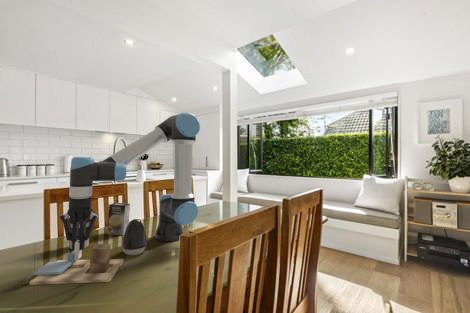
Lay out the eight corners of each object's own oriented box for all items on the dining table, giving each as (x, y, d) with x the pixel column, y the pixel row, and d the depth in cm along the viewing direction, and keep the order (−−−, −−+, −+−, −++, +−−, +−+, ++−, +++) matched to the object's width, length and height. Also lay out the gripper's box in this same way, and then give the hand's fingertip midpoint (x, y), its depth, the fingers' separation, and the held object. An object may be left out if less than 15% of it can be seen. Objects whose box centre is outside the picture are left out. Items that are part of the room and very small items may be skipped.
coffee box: (106, 234, 130) (108, 204, 130) (113, 231, 136) (114, 202, 137) (123, 235, 130) (124, 205, 130) (129, 231, 136) (130, 203, 136)
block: (109, 267, 92) (110, 243, 92) (104, 274, 87) (105, 248, 87) (95, 268, 91) (96, 244, 91) (89, 274, 86) (90, 249, 86)
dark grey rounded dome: (121, 260, 100) (123, 223, 100) (120, 250, 109) (122, 217, 109) (147, 256, 105) (149, 221, 105) (144, 247, 114) (146, 215, 114)
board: (123, 262, 98) (123, 258, 98) (109, 283, 82) (109, 278, 82) (57, 264, 94) (57, 260, 94) (29, 286, 78) (29, 281, 78)
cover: (77, 259, 95) (77, 250, 95) (60, 274, 83) (60, 264, 83) (54, 259, 94) (55, 251, 94) (34, 275, 82) (34, 265, 82)
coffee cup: (79, 252, 106) (81, 217, 106) (60, 249, 108) (62, 215, 108) (96, 244, 115) (98, 213, 115) (78, 242, 117) (80, 211, 117)
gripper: (102, 195, 98) (99, 253, 98) (67, 195, 96) (64, 254, 96) (95, 198, 91) (92, 261, 91) (56, 198, 89) (53, 262, 89)
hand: (77, 258), depth 94 cm, fingers closed
